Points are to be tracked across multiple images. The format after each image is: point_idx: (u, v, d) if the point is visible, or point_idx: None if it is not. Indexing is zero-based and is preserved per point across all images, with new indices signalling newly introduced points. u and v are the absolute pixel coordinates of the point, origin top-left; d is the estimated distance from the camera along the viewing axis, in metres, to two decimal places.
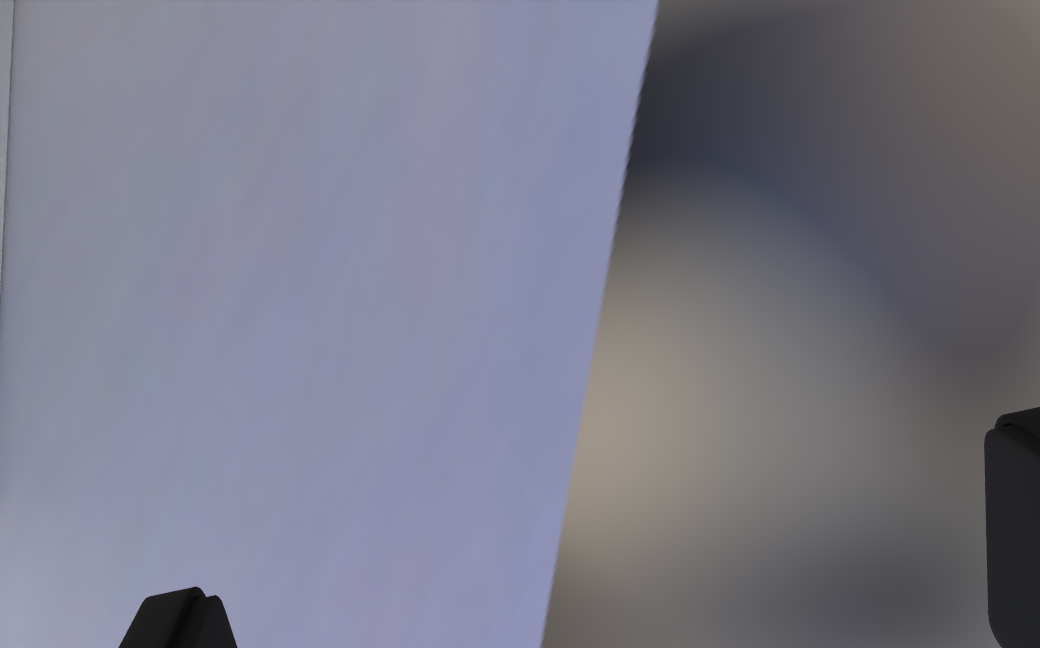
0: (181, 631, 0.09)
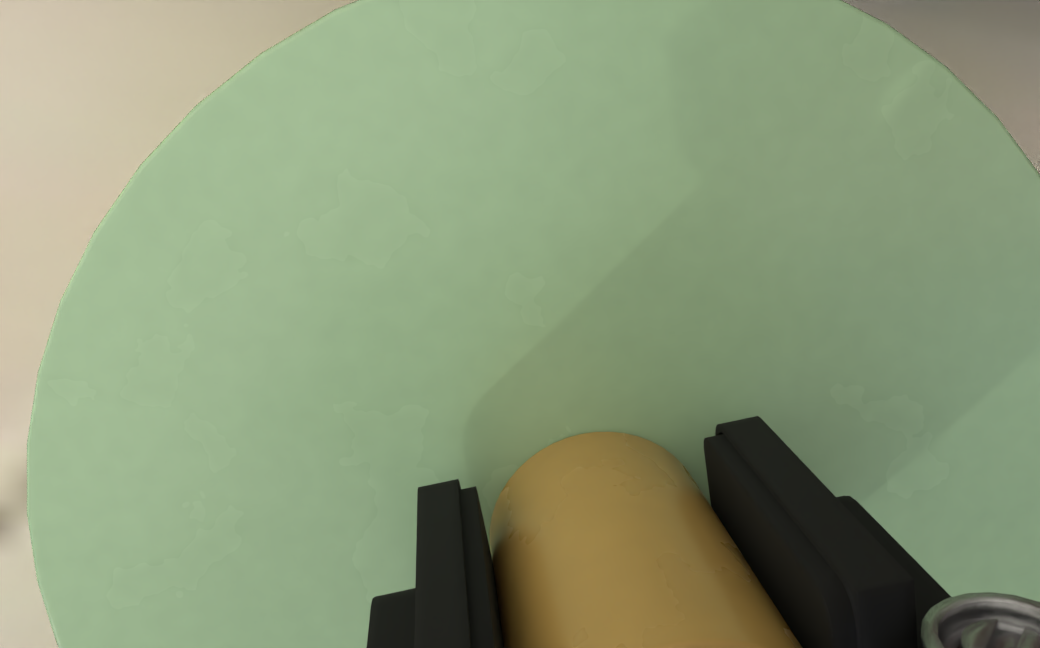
0: (462, 510, 0.10)
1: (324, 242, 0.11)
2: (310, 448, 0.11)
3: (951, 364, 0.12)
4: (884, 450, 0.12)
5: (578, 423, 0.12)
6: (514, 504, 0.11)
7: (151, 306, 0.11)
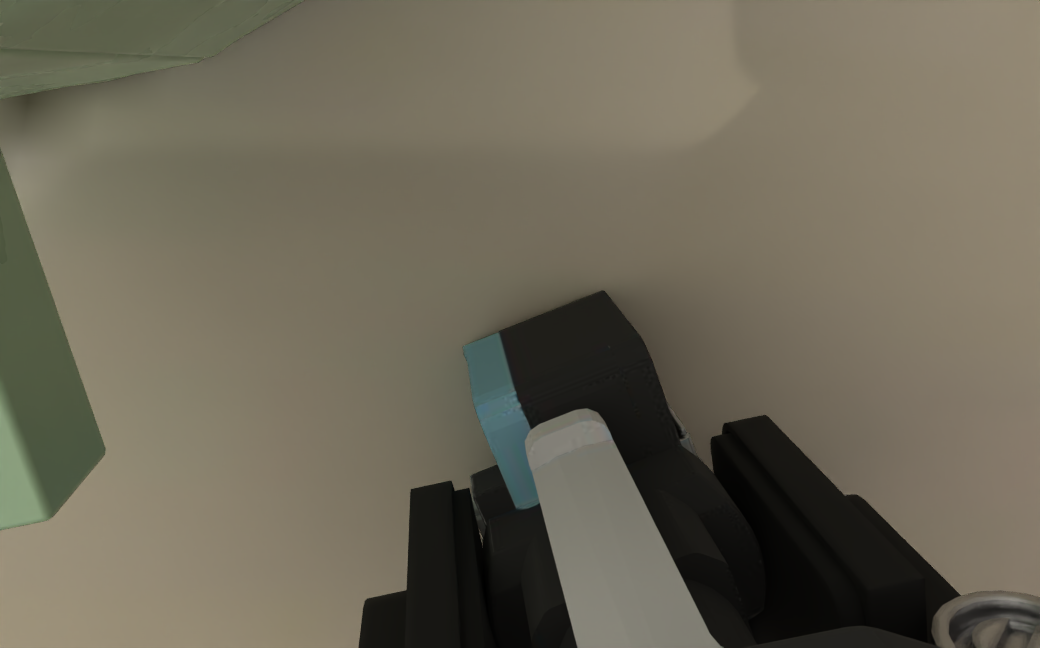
0: (455, 512, 0.10)
1: None
2: None
3: None
4: None
5: None
6: None
7: None
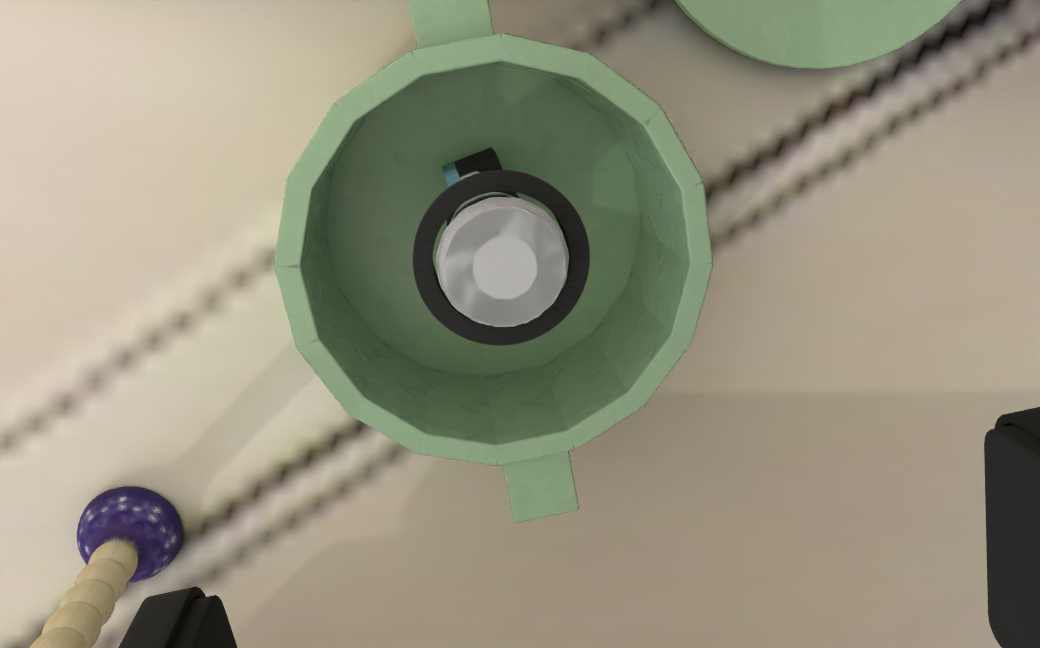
0: (181, 631, 0.09)
1: None
2: None
3: None
4: None
5: None
6: None
7: None
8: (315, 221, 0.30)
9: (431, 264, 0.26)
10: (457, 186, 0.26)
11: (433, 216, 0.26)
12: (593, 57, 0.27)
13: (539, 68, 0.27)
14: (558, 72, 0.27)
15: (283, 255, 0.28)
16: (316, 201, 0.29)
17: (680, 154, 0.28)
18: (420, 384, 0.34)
